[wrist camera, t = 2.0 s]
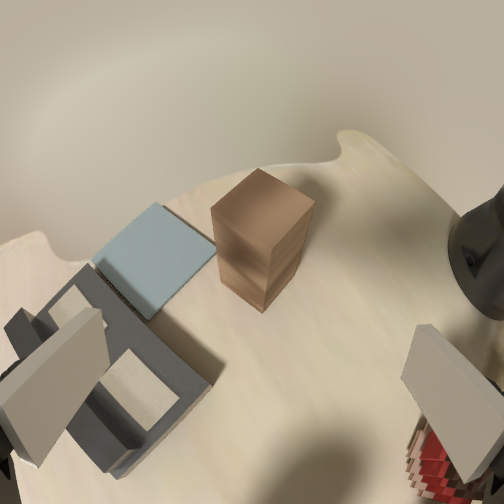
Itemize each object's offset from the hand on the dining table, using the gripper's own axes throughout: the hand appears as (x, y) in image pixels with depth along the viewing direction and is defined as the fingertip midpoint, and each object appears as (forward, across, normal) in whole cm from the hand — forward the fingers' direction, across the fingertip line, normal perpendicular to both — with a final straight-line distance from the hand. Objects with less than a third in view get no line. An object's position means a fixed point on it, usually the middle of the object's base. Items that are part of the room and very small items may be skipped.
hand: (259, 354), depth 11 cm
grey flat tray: (+10, -14, -10) cm, 20 cm away
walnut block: (+18, 0, -3) cm, 18 cm away
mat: (+19, -11, -2) cm, 22 cm away
